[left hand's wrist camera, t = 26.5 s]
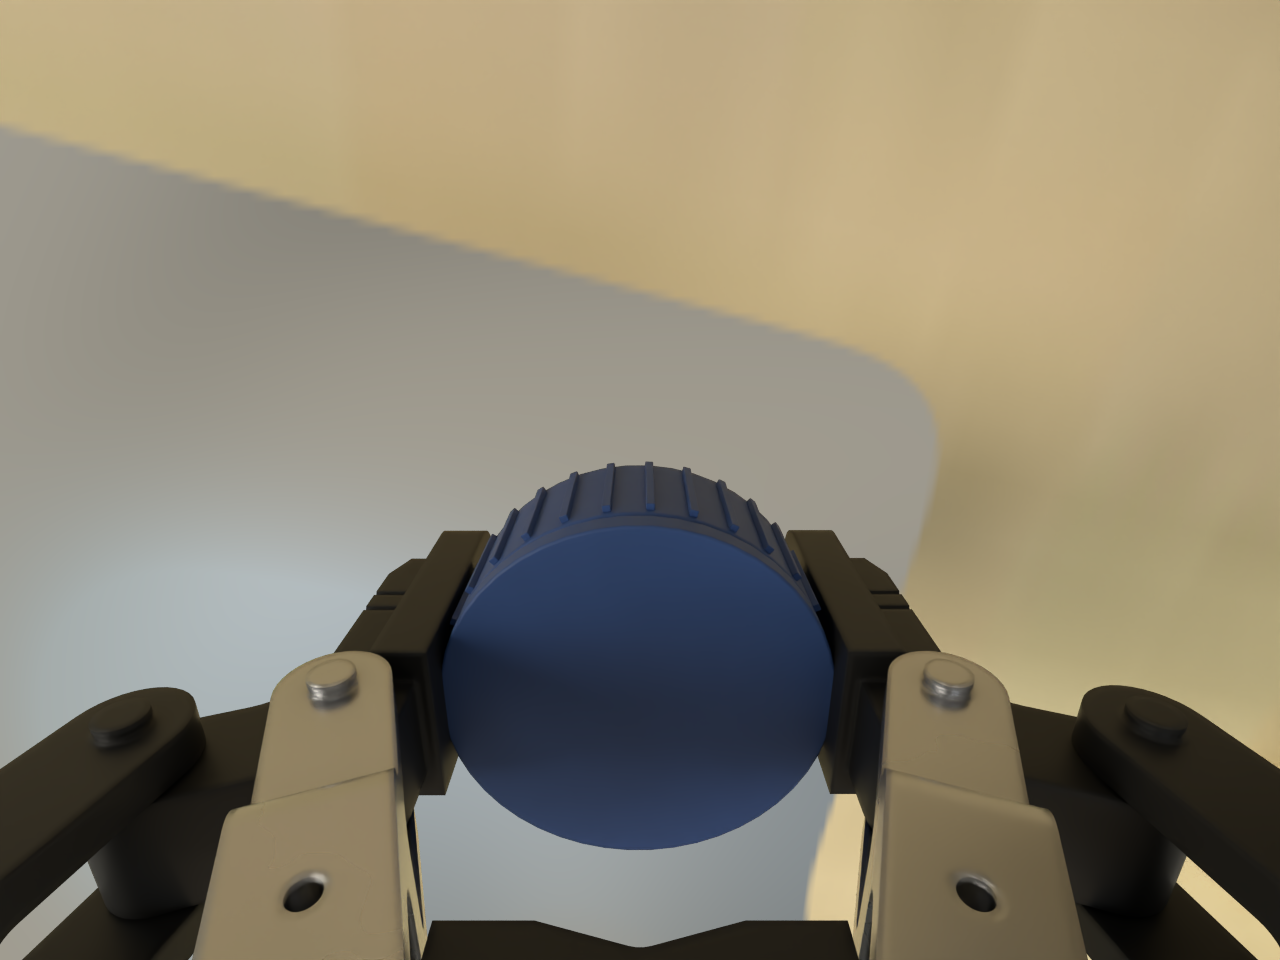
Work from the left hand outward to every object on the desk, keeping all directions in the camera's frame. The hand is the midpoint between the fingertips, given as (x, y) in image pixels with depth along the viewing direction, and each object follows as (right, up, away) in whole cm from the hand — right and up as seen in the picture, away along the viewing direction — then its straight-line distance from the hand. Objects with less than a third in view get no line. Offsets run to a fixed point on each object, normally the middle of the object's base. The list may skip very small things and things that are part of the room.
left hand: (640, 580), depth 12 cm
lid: (0, -1, -3) cm, 3 cm away
